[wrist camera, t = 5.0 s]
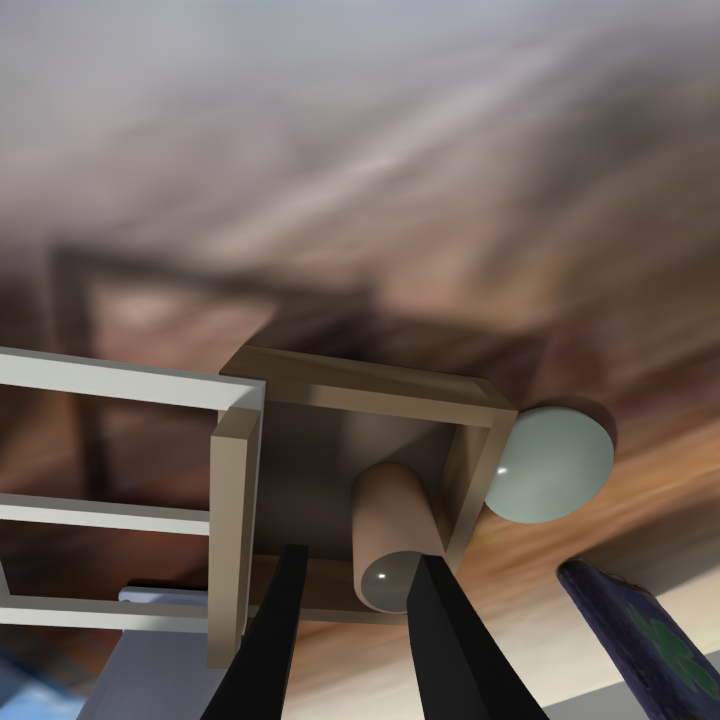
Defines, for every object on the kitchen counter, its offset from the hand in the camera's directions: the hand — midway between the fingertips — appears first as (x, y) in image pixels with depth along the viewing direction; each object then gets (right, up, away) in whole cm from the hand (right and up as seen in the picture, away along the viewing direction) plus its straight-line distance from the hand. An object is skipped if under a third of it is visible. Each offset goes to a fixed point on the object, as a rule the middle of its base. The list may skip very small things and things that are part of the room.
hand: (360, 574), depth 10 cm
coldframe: (-1, -1, +10) cm, 10 cm away
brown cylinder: (+2, -2, +10) cm, 11 cm away
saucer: (+11, 0, +11) cm, 15 cm away
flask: (+18, -11, +15) cm, 26 cm away
